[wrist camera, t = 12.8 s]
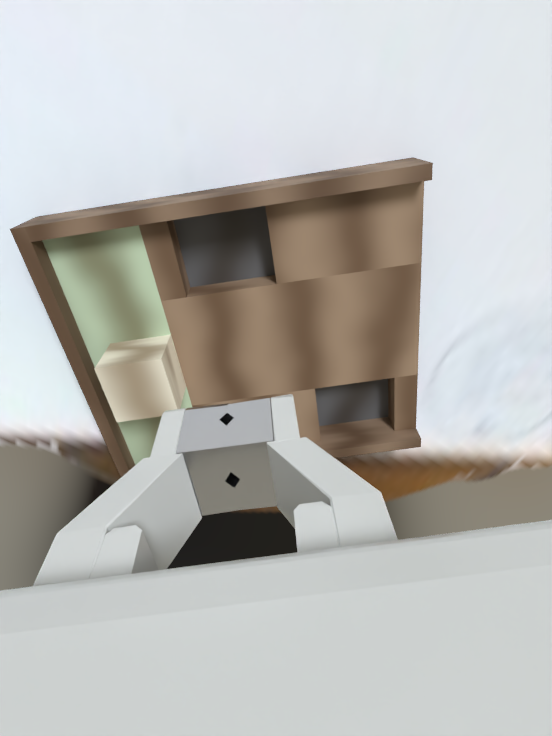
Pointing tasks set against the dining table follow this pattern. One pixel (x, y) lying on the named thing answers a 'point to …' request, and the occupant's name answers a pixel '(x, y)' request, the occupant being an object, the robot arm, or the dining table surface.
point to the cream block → (141, 378)
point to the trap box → (251, 299)
